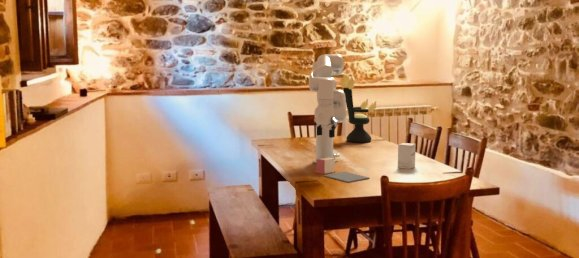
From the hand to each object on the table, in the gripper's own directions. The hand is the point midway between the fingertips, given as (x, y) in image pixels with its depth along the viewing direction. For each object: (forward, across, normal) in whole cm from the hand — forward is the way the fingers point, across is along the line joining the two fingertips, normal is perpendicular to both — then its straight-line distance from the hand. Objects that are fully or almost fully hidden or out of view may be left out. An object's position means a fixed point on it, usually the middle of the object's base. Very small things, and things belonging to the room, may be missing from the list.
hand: (325, 136), depth 313 cm
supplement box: (+19, +17, +42) cm, 49 cm away
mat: (+19, +16, 0) cm, 25 cm away
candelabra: (+18, -63, +80) cm, 104 cm away
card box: (+19, 0, 0) cm, 19 cm away
